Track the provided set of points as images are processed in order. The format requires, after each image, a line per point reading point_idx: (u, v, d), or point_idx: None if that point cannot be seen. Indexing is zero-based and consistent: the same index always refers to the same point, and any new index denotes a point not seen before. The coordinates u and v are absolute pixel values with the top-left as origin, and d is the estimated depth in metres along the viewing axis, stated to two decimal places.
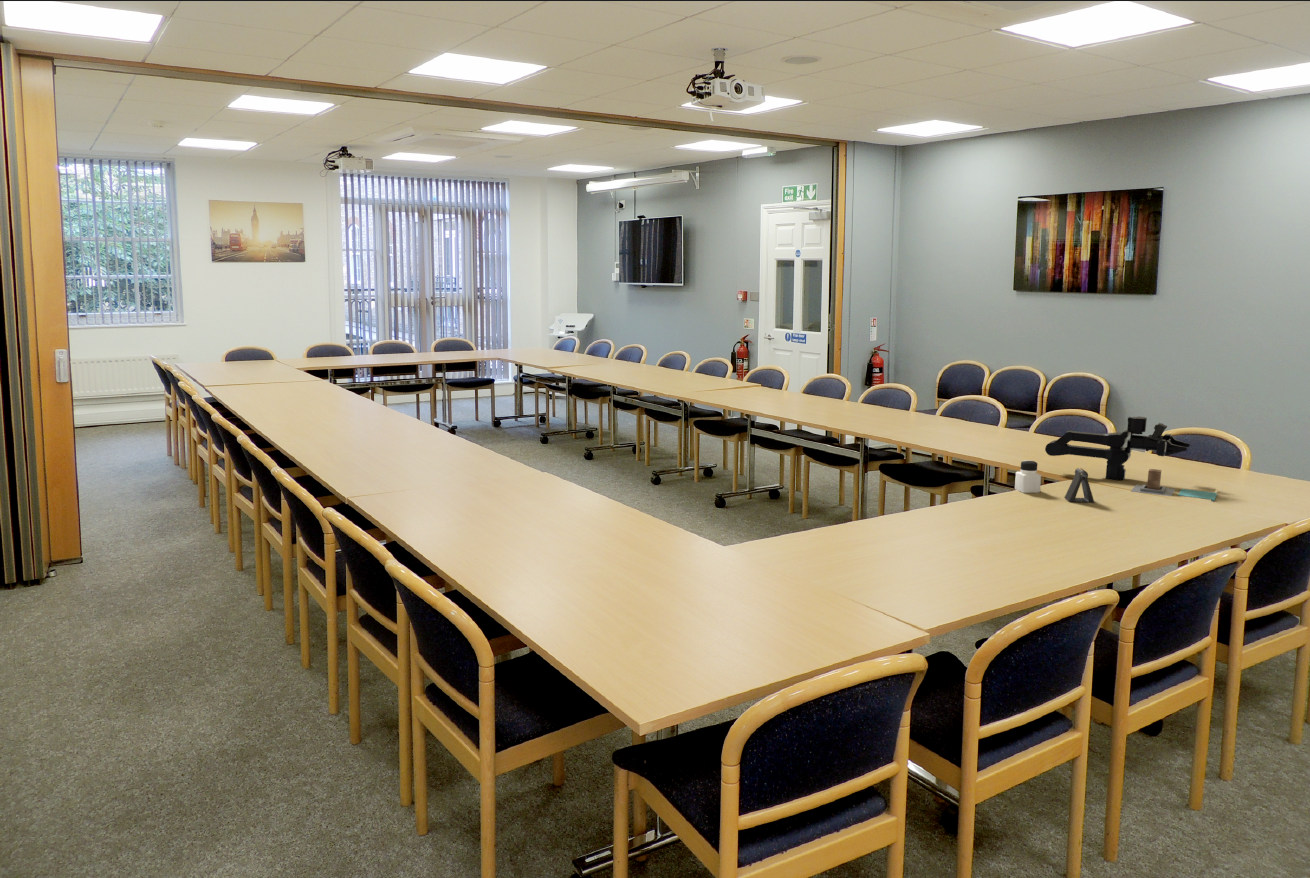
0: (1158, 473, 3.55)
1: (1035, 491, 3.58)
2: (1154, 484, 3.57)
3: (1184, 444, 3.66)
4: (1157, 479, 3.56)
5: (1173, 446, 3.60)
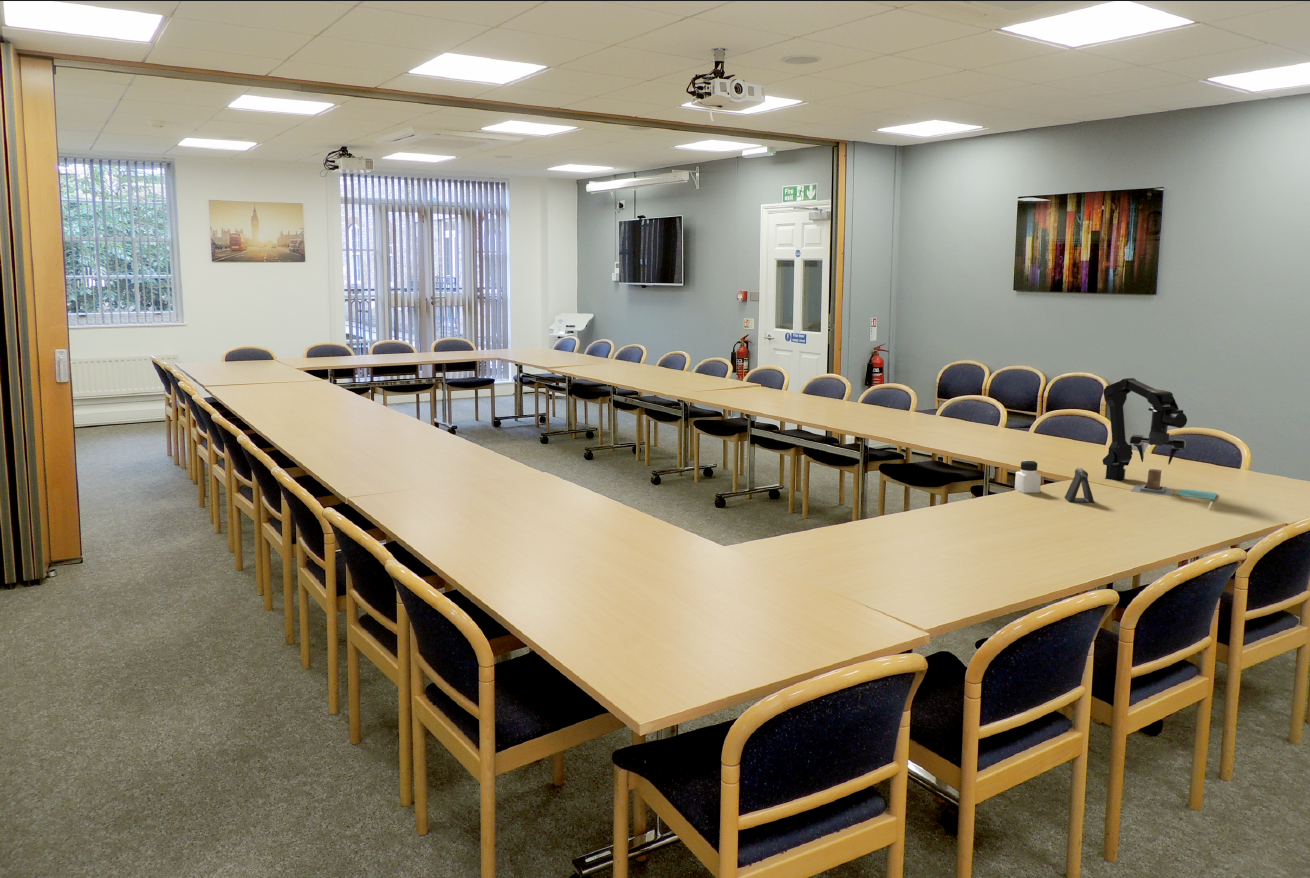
0: (1158, 473, 3.55)
1: (1035, 491, 3.58)
2: (1154, 484, 3.57)
3: (1169, 459, 3.54)
4: (1157, 479, 3.56)
5: None
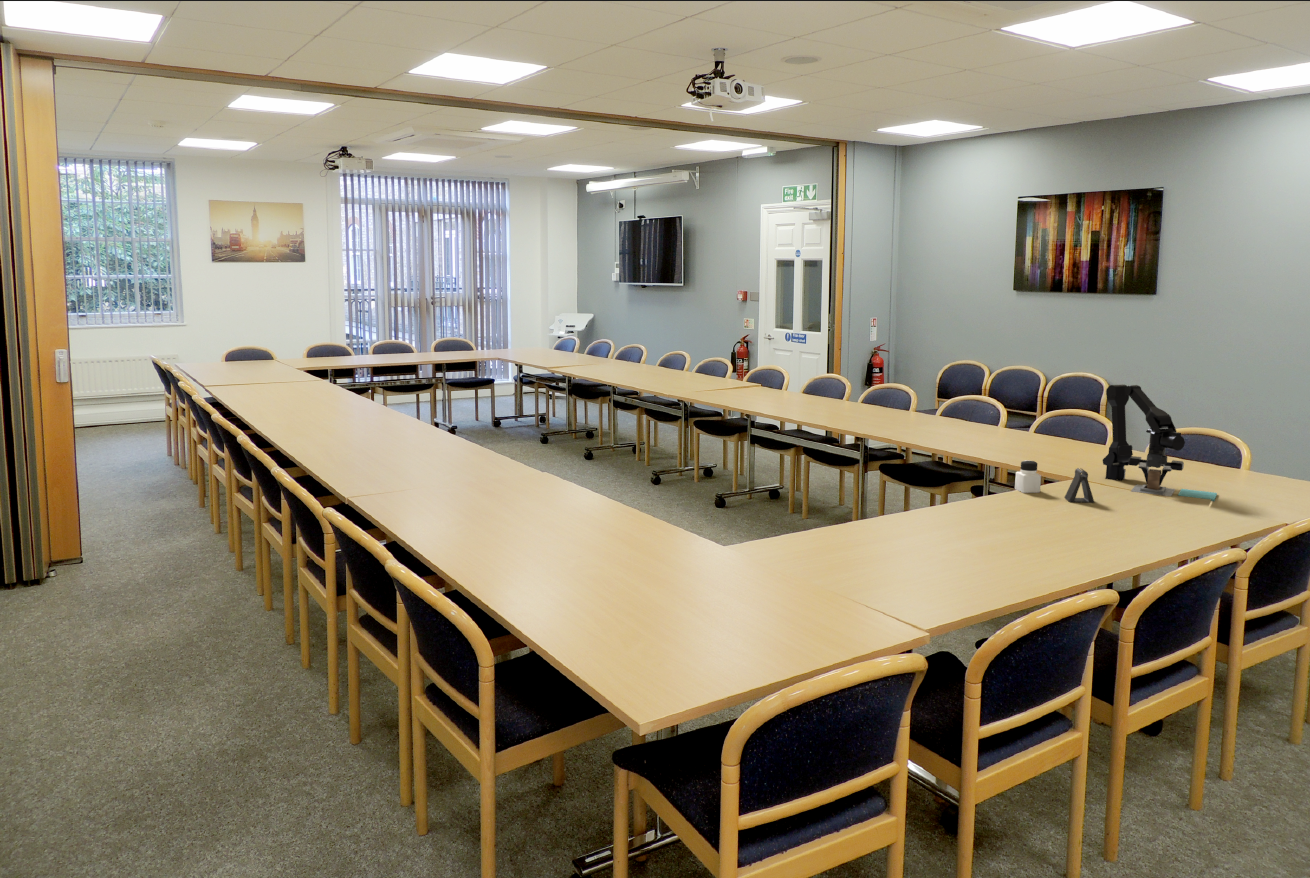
0: (1158, 473, 3.55)
1: (1035, 491, 3.58)
2: (1154, 484, 3.57)
3: None
4: (1157, 479, 3.56)
5: None
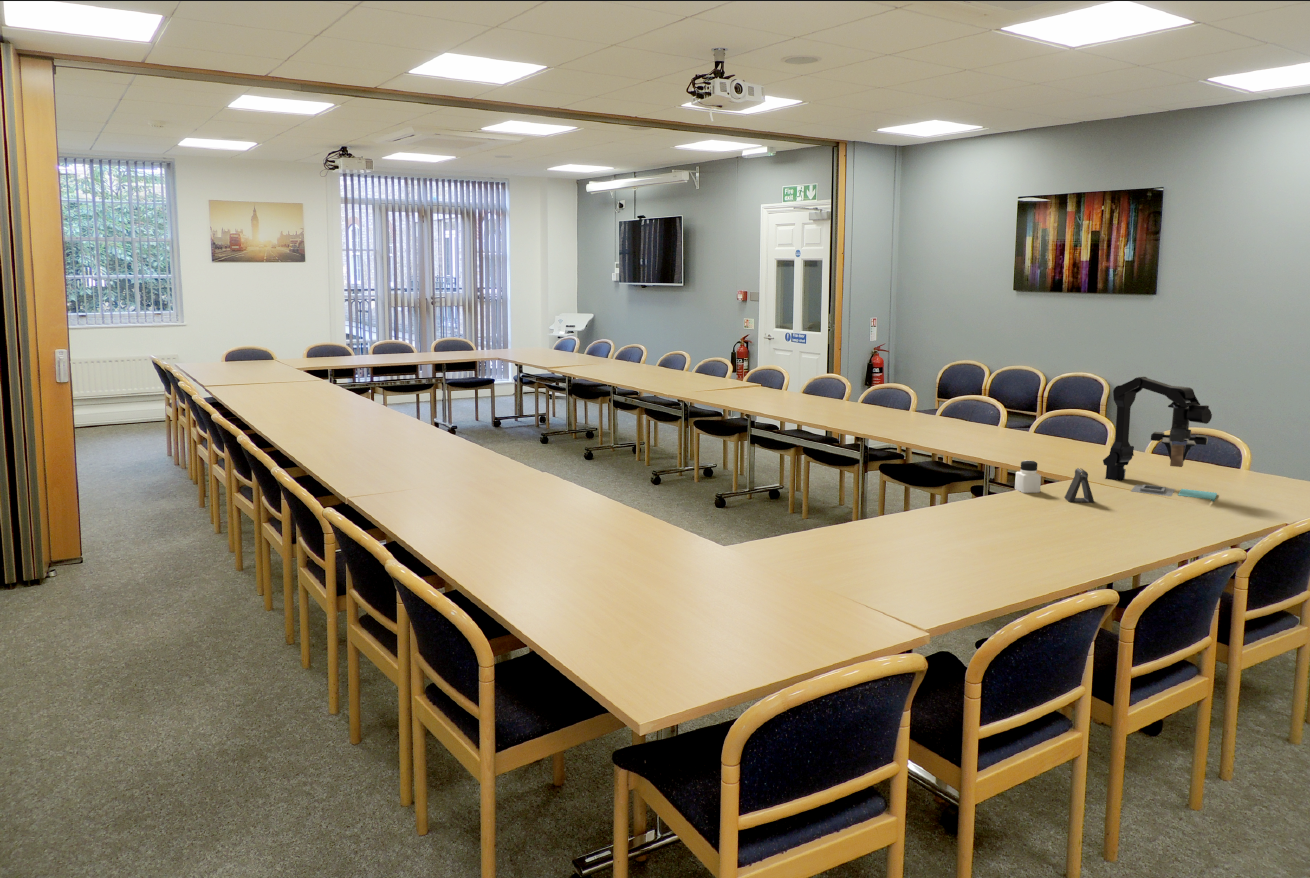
0: (1182, 448, 3.50)
1: (1035, 491, 3.58)
2: (1178, 460, 3.51)
3: (1183, 456, 3.51)
4: (1181, 454, 3.50)
5: None
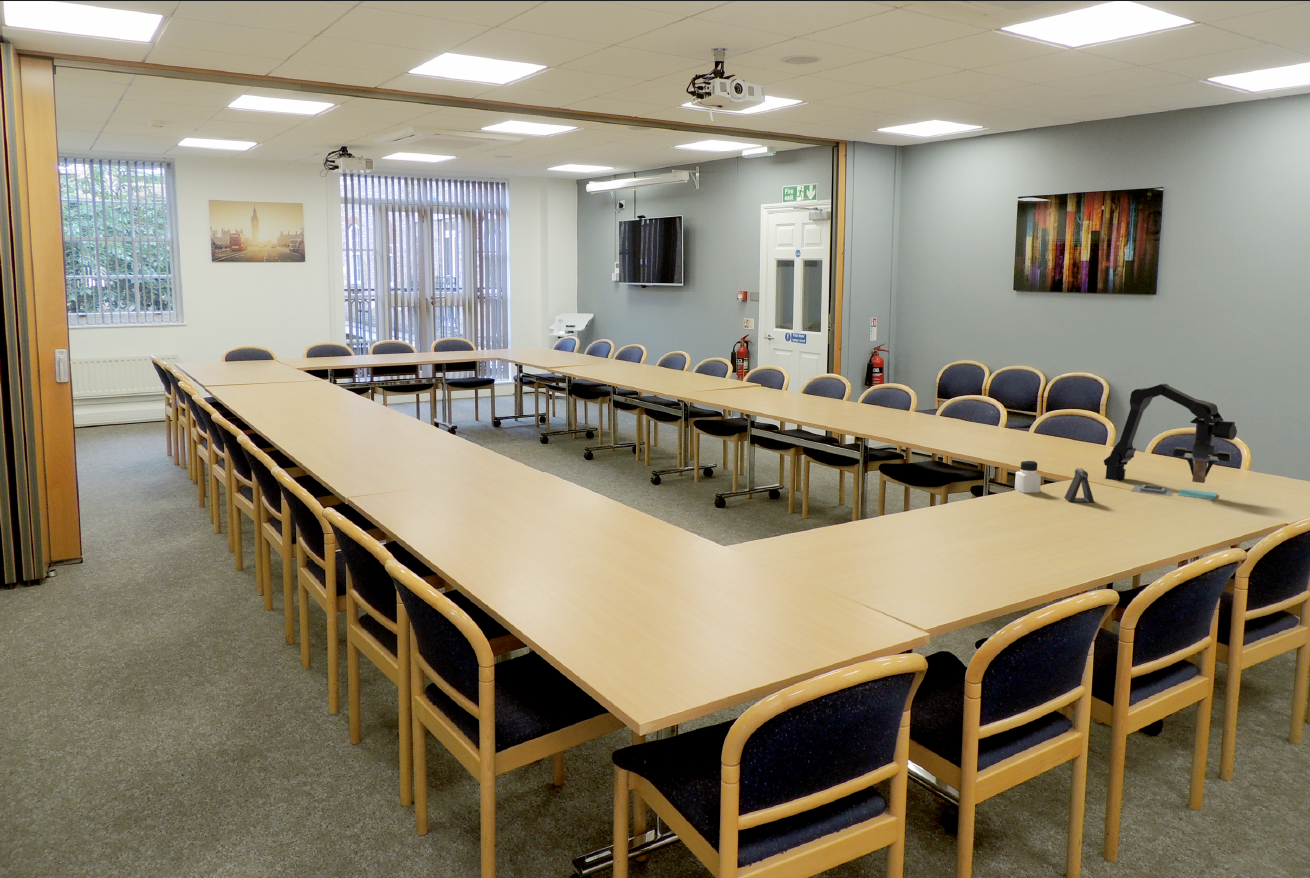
0: (1204, 464, 3.47)
1: (1035, 491, 3.58)
2: (1200, 475, 3.49)
3: None
4: (1203, 470, 3.48)
5: None
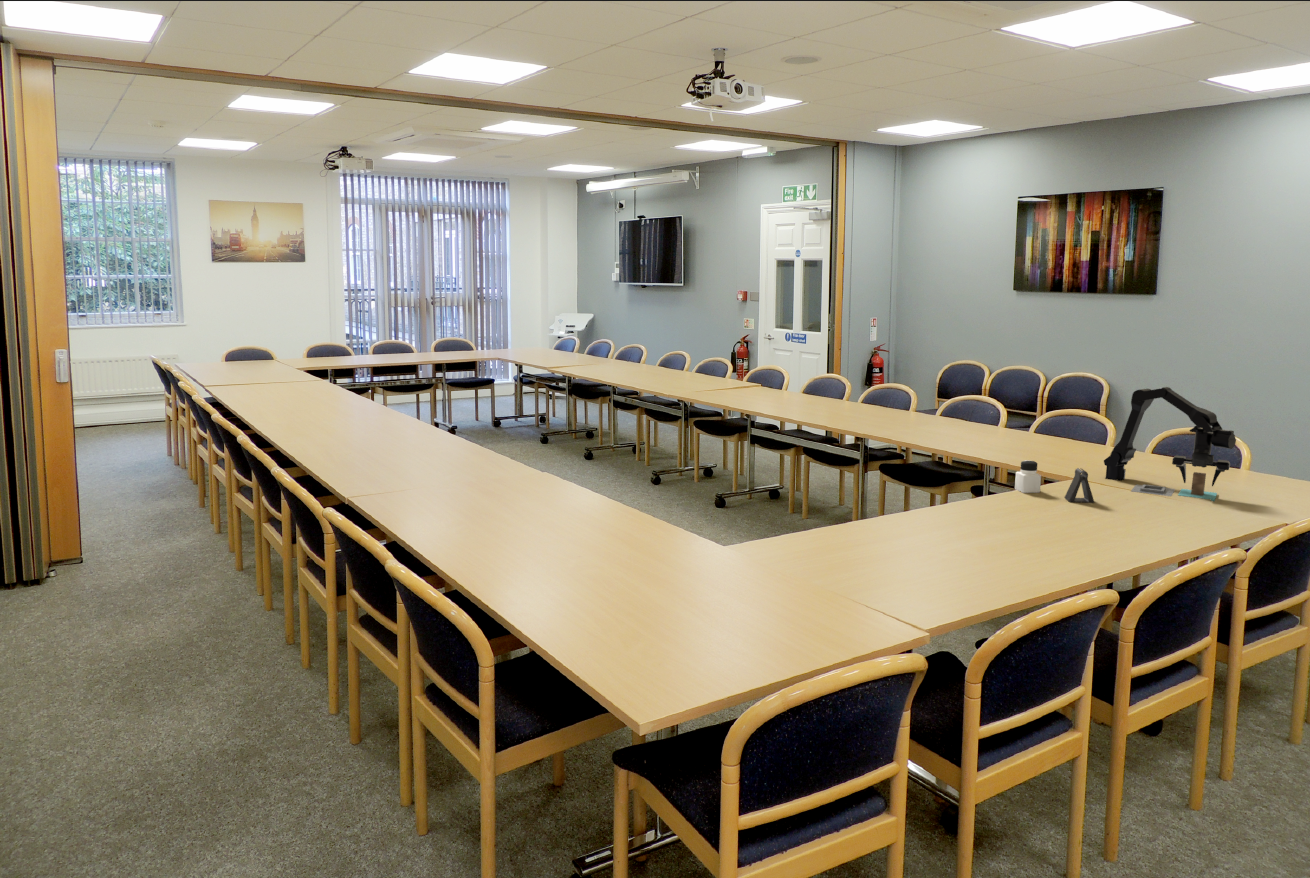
0: (1203, 476, 3.48)
1: (1035, 491, 3.58)
2: (1199, 488, 3.50)
3: None
4: (1202, 483, 3.49)
5: None
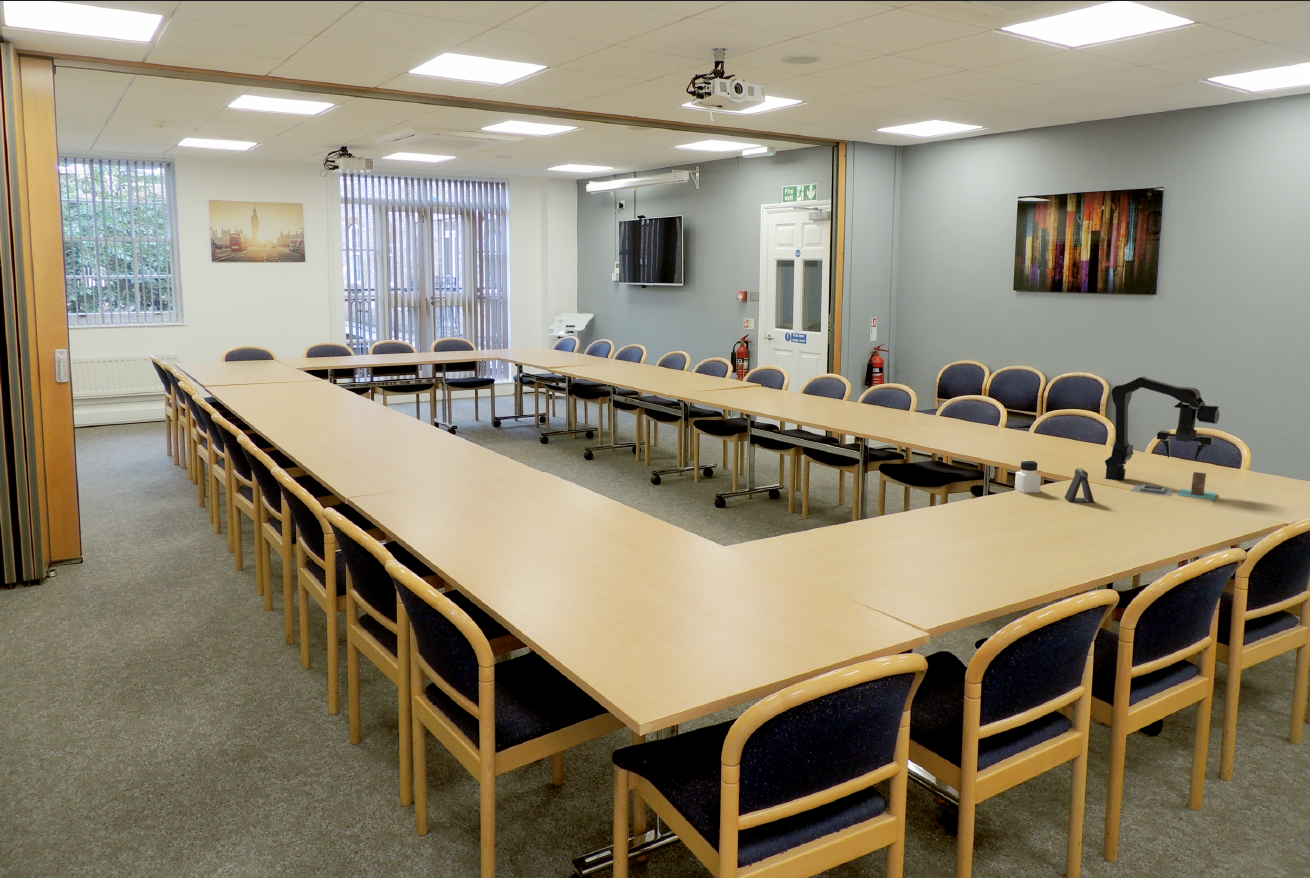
0: (1203, 476, 3.48)
1: (1035, 491, 3.58)
2: (1199, 488, 3.50)
3: (1195, 456, 3.57)
4: (1202, 483, 3.49)
5: None
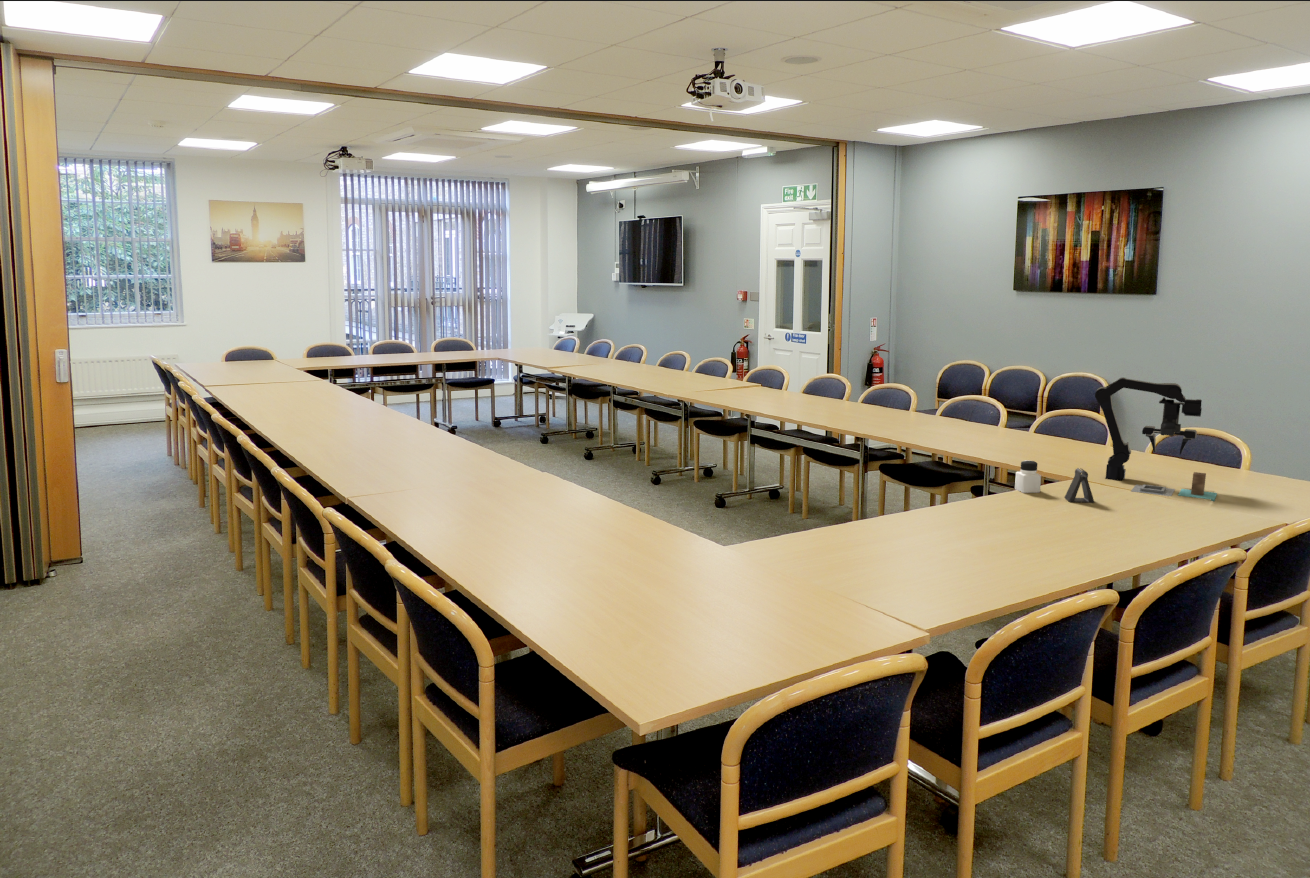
0: (1203, 476, 3.48)
1: (1035, 491, 3.58)
2: (1199, 488, 3.50)
3: (1180, 449, 3.65)
4: (1202, 483, 3.49)
5: None
